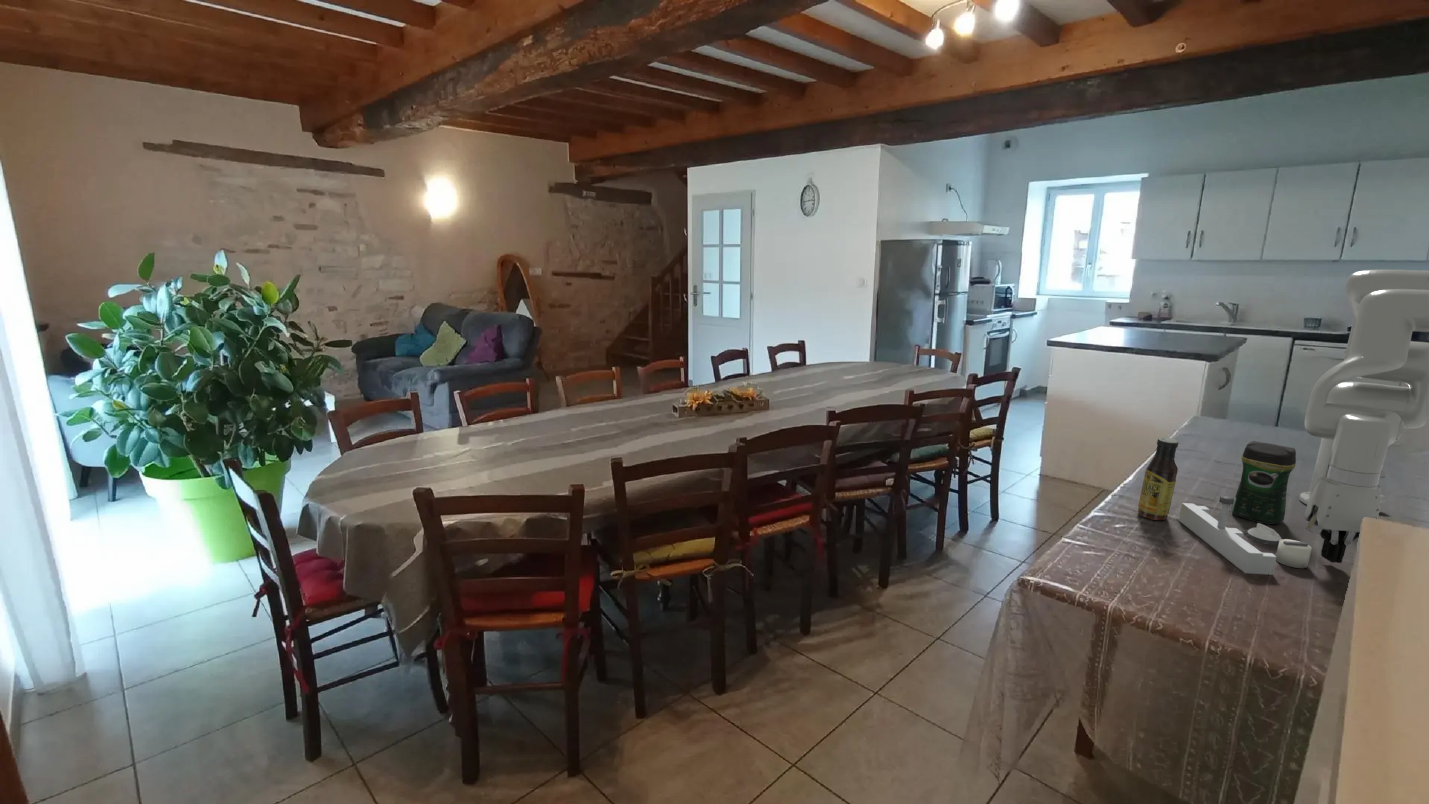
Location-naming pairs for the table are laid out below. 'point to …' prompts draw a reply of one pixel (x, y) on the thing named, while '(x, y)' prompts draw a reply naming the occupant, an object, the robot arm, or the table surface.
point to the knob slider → (1293, 553)
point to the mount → (1226, 537)
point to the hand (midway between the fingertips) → (1330, 559)
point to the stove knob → (1263, 534)
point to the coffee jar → (1264, 482)
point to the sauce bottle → (1159, 481)
